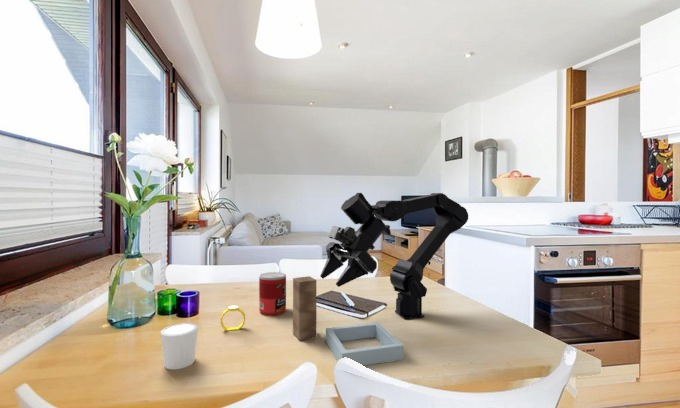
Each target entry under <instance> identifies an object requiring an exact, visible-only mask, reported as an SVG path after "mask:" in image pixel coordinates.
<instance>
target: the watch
mask: <svg viewBox="0 0 680 408" xmlns="http://www.w3.org/2000/svg"><path fill="white" fill-rule="evenodd" d="M237 311H238V312H240V313H241V315H242V317H243V320H242V322H241V324H239V326H237V327H236V326H235V327H234V326H233V327H227V326H226V325H225V324H224V322H223V318H224V316H225V314H226V313H229V312H237ZM245 322H246V313H245V312H244V311H243V309H242V308H240V306H239V305H233V304H232V305H229V306H228V307H227V309H225V310H223V312H222V314H221V316H220V325H221V327H222V329H224V330H225V331H226V332H229V331H230V332H231V331H239V330H240V329H242V327H243V326H244V324H245Z"/></svg>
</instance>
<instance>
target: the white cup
mask: <svg viewBox="0 0 680 408" xmlns="http://www.w3.org/2000/svg"><path fill="white" fill-rule="evenodd" d="M198 327H199V326H198V325H197V324H195V323H193V322H192V323H191V322H184V323H183V322H182V323H176V324H172V325H169V326H166V327H164V328H163V329H162V330H160V338H161V339H160V340H161V347H162V350H161V351H162V359H163V366H164V369H167V370H182V369H184V368H188V367H189V366H191V365H192V364H194V362H195V361H196V360H195V359H196V348H197V340H198V329H199V328H198Z"/></svg>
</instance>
